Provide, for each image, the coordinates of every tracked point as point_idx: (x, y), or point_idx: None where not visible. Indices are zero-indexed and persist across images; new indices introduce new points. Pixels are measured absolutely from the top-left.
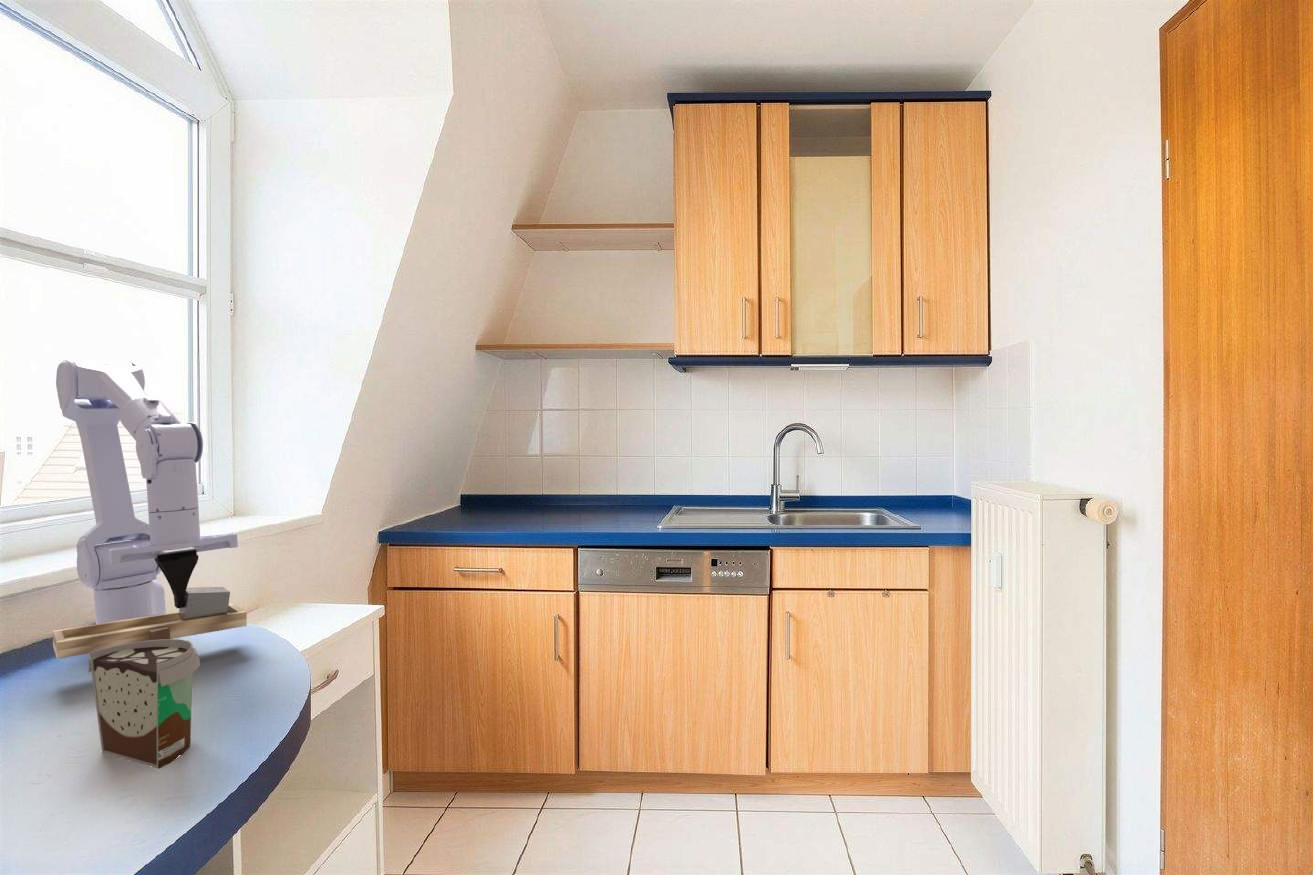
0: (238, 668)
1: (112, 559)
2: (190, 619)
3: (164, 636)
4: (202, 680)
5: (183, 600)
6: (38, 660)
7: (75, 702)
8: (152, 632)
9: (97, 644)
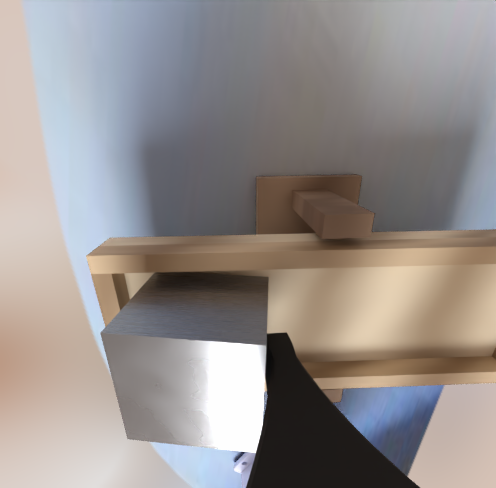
0: (169, 84)
1: None
2: (252, 280)
3: (330, 207)
4: (253, 55)
5: (273, 347)
6: (401, 427)
7: (456, 142)
8: (369, 211)
9: (478, 236)
